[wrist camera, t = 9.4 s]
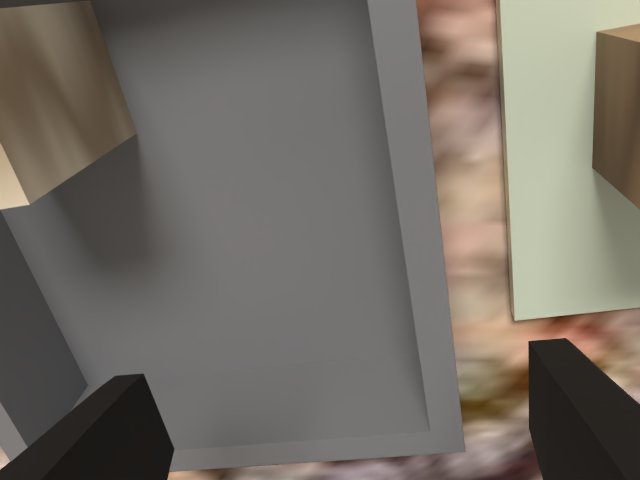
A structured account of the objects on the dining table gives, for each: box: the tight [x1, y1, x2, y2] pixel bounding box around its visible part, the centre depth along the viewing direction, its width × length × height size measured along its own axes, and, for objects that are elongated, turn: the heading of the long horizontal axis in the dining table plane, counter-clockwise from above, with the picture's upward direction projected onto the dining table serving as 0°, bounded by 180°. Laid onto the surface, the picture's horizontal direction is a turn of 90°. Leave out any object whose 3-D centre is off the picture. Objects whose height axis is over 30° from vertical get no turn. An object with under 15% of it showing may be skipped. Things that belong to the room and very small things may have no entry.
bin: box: [0, 0, 465, 472], centre depth 16 cm, size 18×16×4 cm
